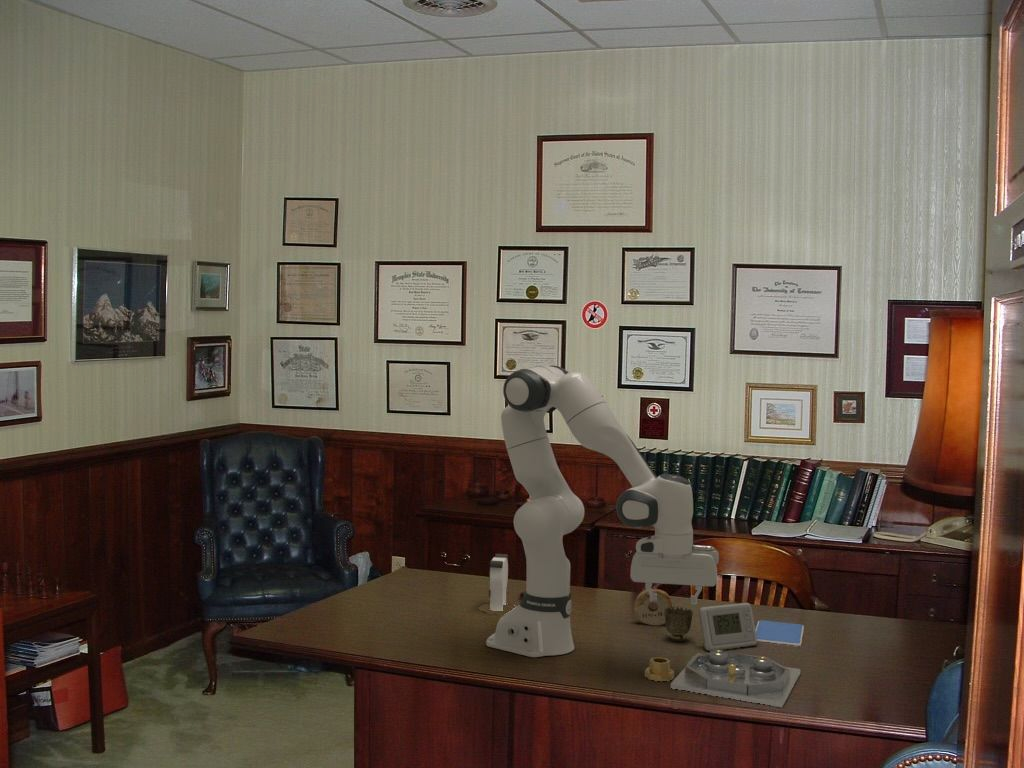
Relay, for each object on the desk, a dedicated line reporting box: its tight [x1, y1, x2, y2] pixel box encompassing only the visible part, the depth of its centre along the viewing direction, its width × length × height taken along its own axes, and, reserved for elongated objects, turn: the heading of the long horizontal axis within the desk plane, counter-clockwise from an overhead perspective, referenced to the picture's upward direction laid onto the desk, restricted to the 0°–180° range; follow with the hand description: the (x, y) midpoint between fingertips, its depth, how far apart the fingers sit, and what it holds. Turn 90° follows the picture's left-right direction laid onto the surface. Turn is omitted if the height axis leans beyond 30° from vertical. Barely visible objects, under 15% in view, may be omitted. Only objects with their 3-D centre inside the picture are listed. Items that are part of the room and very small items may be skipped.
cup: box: [664, 606, 693, 642], centre depth 276 cm, size 7×7×8 cm
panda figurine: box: [488, 553, 509, 611], centre depth 301 cm, size 12×11×15 cm
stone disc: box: [633, 588, 673, 626], centre depth 290 cm, size 10×4×10 cm, turn 80°
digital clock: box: [698, 602, 758, 652], centre depth 271 cm, size 16×9×11 cm, turn 102°
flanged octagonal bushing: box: [644, 656, 675, 683], centre depth 246 cm, size 6×6×4 cm
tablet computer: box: [755, 619, 805, 647], centre depth 284 cm, size 19×13×1 cm, turn 162°
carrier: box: [670, 649, 801, 709], centre depth 244 cm, size 25×25×6 cm
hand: (673, 602), depth 246 cm, fingers open, 8 cm apart
